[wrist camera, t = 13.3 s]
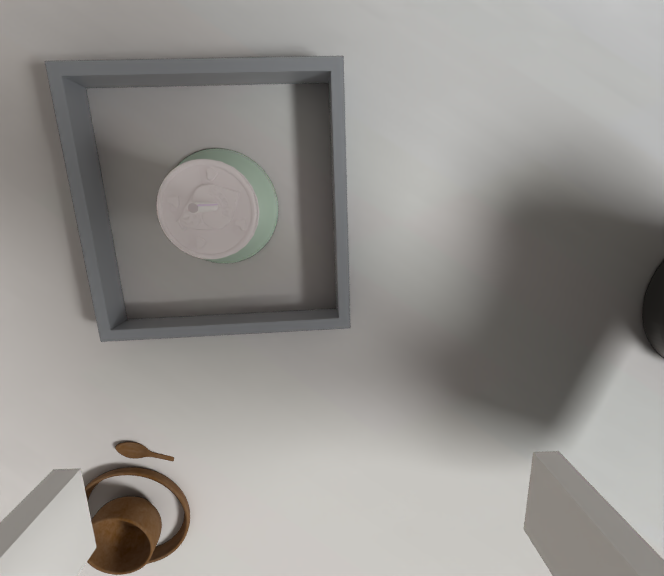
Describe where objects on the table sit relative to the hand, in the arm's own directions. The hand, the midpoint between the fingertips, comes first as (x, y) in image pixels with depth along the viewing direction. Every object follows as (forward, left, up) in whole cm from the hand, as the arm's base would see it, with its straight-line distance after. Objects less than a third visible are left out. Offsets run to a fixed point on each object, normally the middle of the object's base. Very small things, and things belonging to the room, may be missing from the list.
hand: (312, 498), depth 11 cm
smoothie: (+6, -8, -25) cm, 27 cm away
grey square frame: (+8, -8, -25) cm, 27 cm away
